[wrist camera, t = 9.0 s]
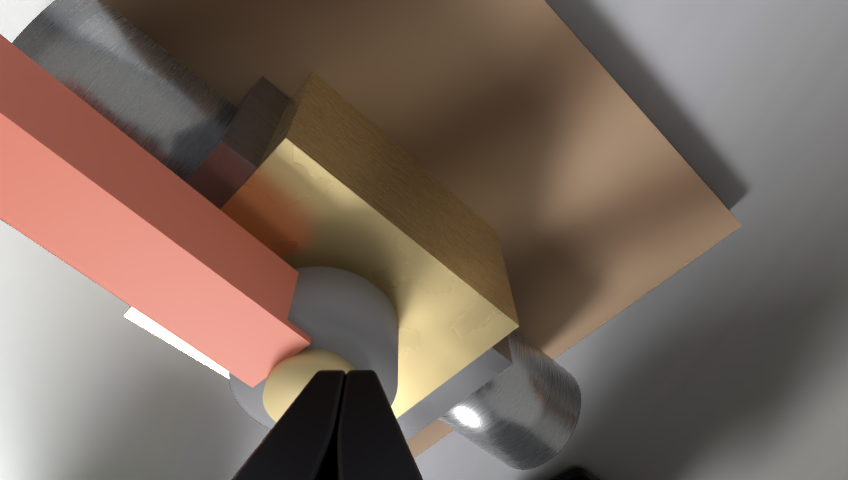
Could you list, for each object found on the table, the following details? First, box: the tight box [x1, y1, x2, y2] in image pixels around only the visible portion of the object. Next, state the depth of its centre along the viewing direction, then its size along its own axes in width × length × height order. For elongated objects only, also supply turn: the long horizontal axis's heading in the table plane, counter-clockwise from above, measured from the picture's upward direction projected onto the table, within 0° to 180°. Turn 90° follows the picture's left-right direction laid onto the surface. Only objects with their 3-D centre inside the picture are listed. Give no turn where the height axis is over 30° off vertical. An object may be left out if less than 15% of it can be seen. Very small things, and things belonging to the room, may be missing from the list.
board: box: [0, 0, 742, 458], centre depth 21 cm, size 20×17×1 cm
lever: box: [0, 34, 399, 429], centre depth 14 cm, size 13×4×3 cm, turn 42°
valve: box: [12, 0, 581, 470], centre depth 19 cm, size 19×7×5 cm, turn 46°
